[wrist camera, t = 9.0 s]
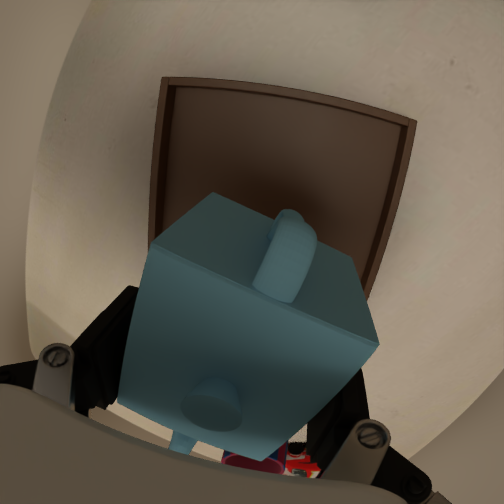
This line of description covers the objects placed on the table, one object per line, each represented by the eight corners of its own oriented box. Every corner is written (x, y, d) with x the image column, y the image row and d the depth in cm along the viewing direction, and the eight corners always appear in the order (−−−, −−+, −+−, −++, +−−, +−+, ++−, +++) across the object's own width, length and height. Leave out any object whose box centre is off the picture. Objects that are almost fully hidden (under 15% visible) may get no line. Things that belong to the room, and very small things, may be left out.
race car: (375, 435, 31) (378, 460, 28) (368, 454, 33) (370, 477, 30) (273, 440, 34) (270, 466, 30) (276, 459, 36) (273, 482, 32)
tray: (158, 319, 28) (149, 331, 26) (172, 80, 19) (161, 76, 17) (335, 357, 27) (337, 372, 25) (407, 120, 18) (417, 120, 16)
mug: (224, 422, 33) (212, 467, 27) (260, 378, 29) (250, 432, 23) (273, 439, 33) (266, 483, 27) (316, 399, 29) (315, 451, 23)
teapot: (252, 392, 17) (228, 502, 10) (158, 352, 17) (102, 452, 10) (365, 218, 12) (431, 328, 5) (232, 154, 12) (143, 194, 5)
